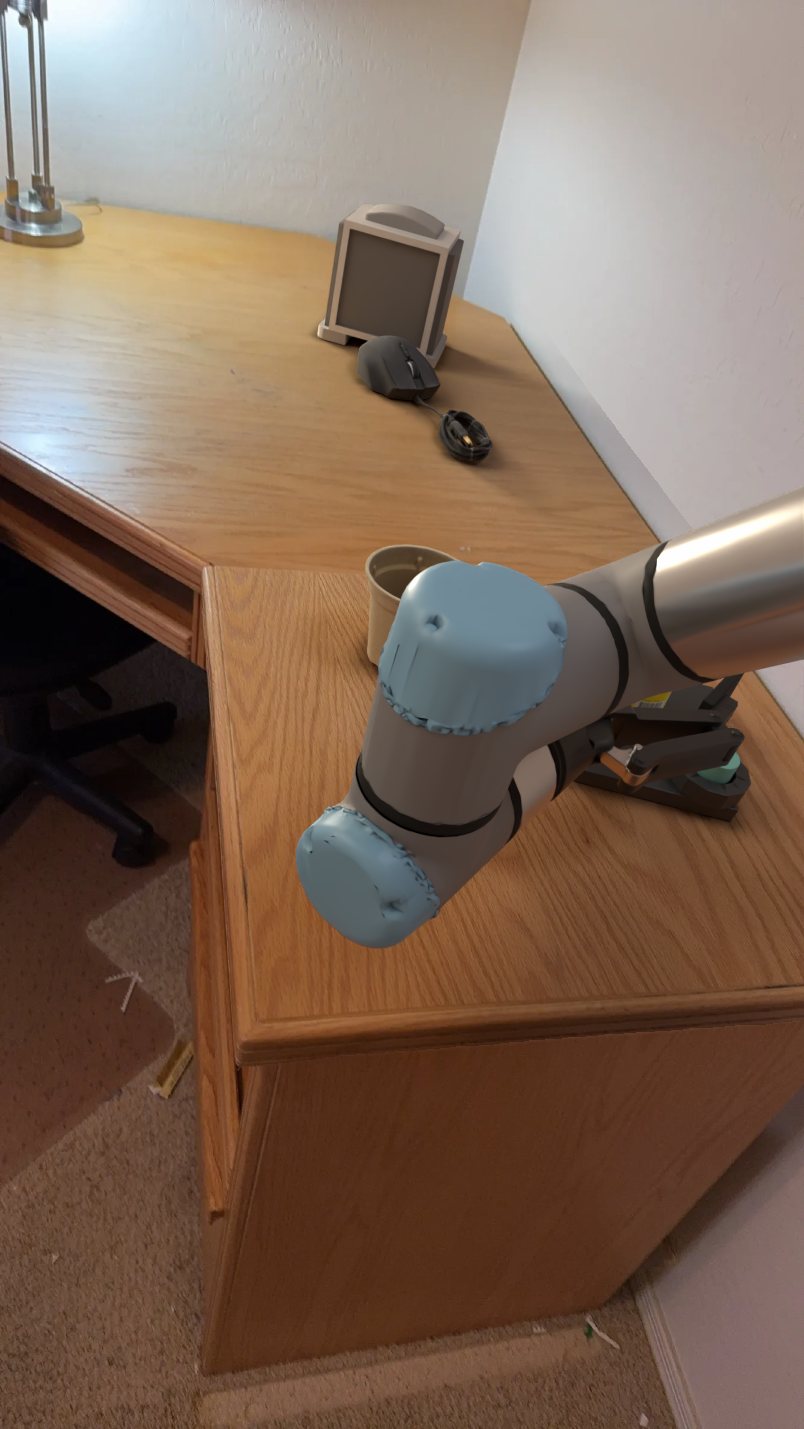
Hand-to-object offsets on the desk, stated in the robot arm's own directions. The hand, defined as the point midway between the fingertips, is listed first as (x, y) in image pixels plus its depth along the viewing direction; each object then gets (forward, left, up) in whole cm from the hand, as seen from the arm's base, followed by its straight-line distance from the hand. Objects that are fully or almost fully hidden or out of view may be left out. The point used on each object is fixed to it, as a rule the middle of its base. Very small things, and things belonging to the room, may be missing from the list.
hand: (654, 634), depth 68 cm
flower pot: (+3, +18, -11) cm, 22 cm away
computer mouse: (+59, +25, -11) cm, 65 cm away
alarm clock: (+82, +33, -11) cm, 89 cm away
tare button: (-5, -8, -8) cm, 12 cm away
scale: (+1, -4, -11) cm, 11 cm away
